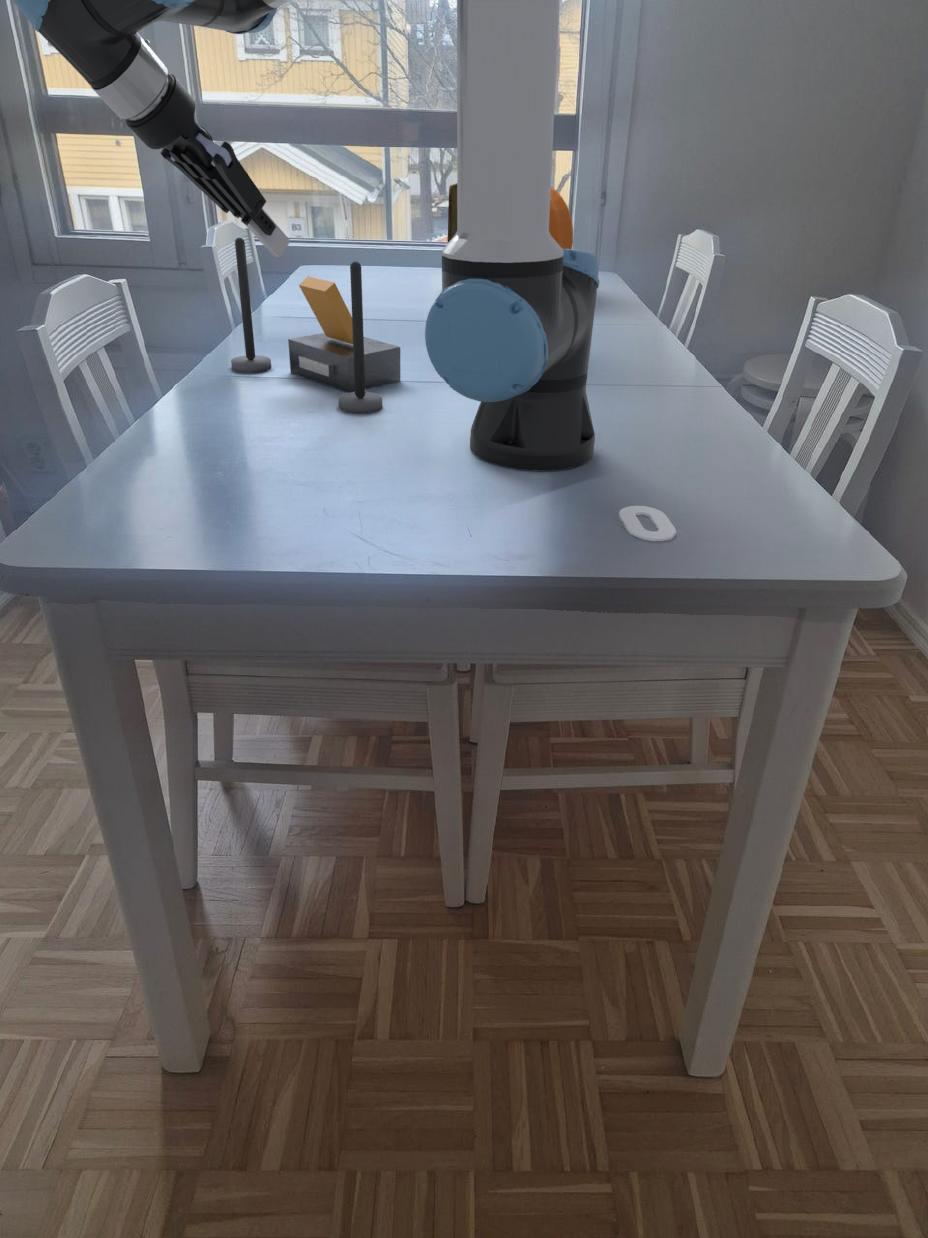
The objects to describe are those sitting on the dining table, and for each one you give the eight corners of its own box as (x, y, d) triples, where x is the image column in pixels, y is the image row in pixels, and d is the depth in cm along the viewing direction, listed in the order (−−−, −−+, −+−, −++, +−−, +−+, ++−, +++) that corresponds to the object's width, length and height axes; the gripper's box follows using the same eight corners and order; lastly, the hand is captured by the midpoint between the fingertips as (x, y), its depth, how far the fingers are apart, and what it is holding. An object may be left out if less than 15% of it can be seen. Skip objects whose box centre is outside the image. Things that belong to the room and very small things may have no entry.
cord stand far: (273, 372, 129) (262, 240, 119) (232, 373, 127) (218, 240, 117) (269, 362, 133) (258, 234, 124) (230, 363, 132) (216, 234, 122)
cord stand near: (386, 412, 114) (383, 264, 104) (342, 414, 112) (335, 265, 102) (377, 399, 118) (374, 257, 109) (335, 401, 117) (328, 257, 107)
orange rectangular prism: (355, 348, 123) (325, 291, 116) (327, 340, 127) (297, 284, 119) (363, 339, 124) (335, 282, 116) (336, 331, 127) (307, 275, 120)
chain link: (658, 510, 89) (613, 510, 88) (659, 505, 89) (613, 505, 88) (681, 543, 82) (633, 544, 82) (682, 538, 82) (634, 538, 81)
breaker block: (344, 393, 120) (343, 358, 117) (286, 373, 128) (283, 339, 126) (400, 380, 127) (400, 346, 124) (341, 362, 135) (340, 329, 132)
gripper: (196, 69, 89) (327, 231, 109) (136, 68, 97) (268, 220, 116) (158, 125, 89) (296, 278, 108) (100, 120, 96) (239, 264, 115)
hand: (281, 248), depth 112 cm, fingers closed
